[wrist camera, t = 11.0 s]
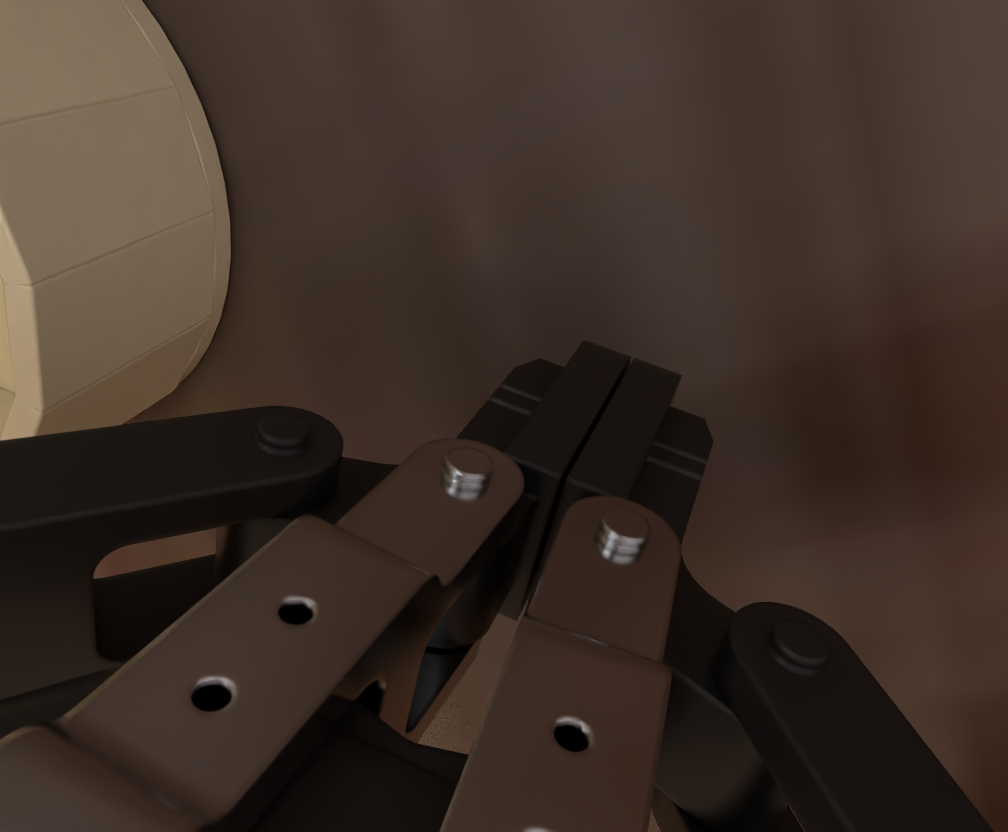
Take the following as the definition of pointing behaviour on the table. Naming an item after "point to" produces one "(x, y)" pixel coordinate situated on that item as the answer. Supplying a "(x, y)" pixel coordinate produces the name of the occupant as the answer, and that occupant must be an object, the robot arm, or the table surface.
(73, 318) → the beige round bowl
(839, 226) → the table surface
